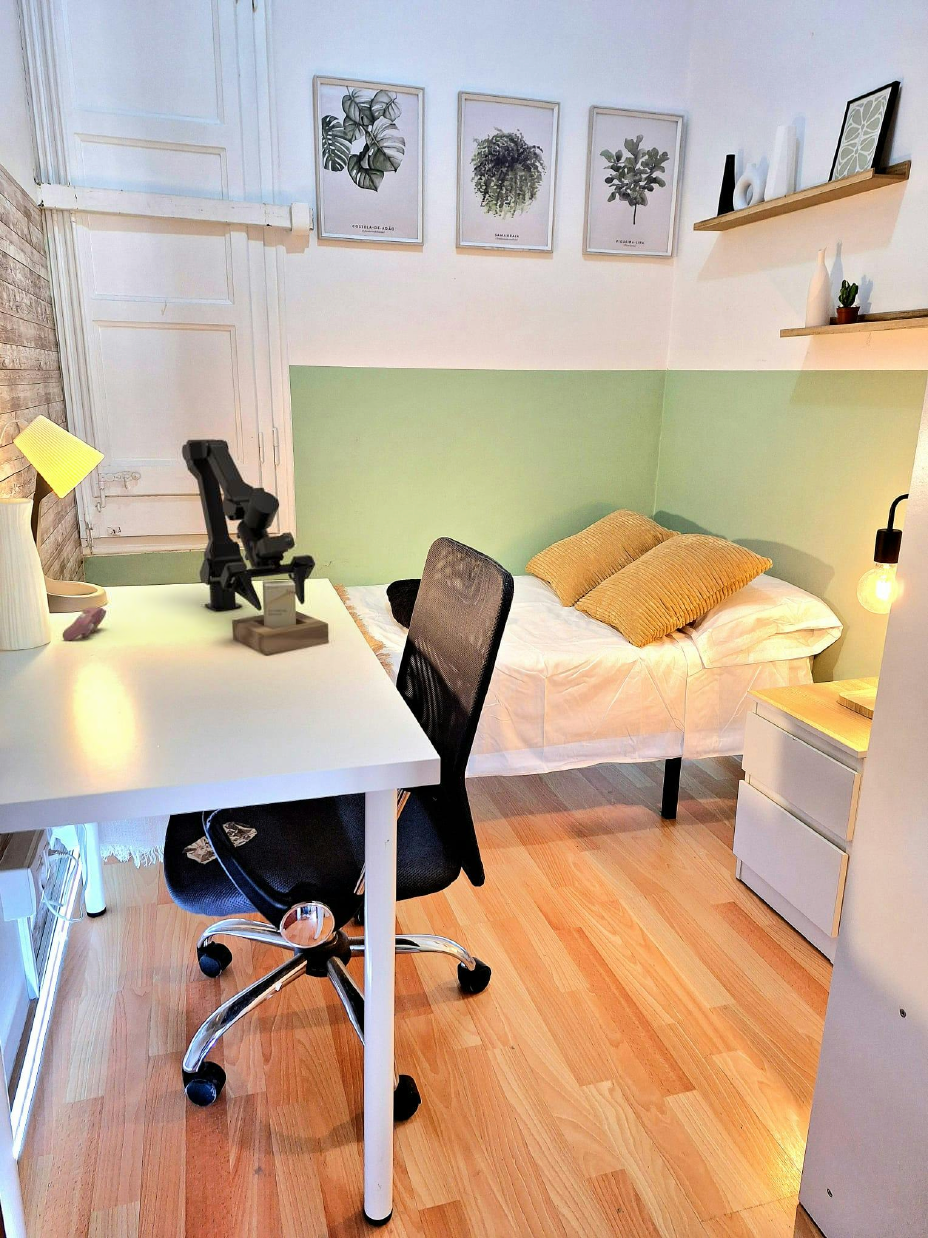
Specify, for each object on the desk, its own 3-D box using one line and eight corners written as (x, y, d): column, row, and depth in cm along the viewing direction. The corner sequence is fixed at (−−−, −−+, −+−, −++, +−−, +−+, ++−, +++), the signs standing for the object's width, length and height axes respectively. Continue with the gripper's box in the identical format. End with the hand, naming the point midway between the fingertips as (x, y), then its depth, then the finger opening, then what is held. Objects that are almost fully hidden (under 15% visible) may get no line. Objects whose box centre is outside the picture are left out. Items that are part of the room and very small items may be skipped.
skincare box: (266, 644, 168) (263, 585, 165) (264, 638, 172) (261, 580, 169) (297, 642, 170) (295, 584, 167) (295, 636, 174) (292, 579, 171)
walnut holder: (233, 639, 172) (231, 620, 171) (293, 627, 181) (292, 609, 180) (266, 655, 162) (265, 635, 160) (328, 642, 170) (328, 623, 169)
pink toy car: (80, 649, 169) (93, 619, 167) (59, 638, 168) (71, 609, 167) (101, 635, 178) (113, 607, 177) (81, 625, 178) (93, 597, 176)
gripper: (222, 523, 162) (247, 590, 157) (310, 516, 173) (336, 578, 167) (210, 556, 171) (233, 621, 165) (294, 547, 181) (319, 608, 176)
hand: (282, 606), depth 168 cm, fingers open, 9 cm apart
